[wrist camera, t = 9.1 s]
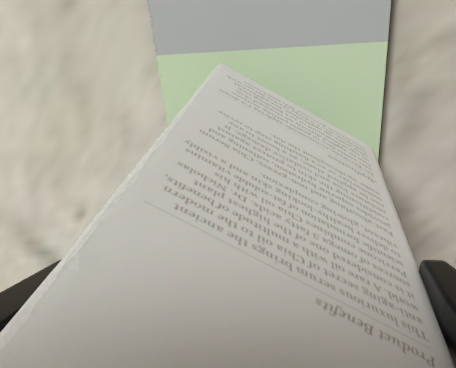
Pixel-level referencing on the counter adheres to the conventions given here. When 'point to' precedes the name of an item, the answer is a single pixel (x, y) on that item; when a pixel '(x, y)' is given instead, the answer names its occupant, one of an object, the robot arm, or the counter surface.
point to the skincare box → (237, 254)
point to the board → (280, 54)
